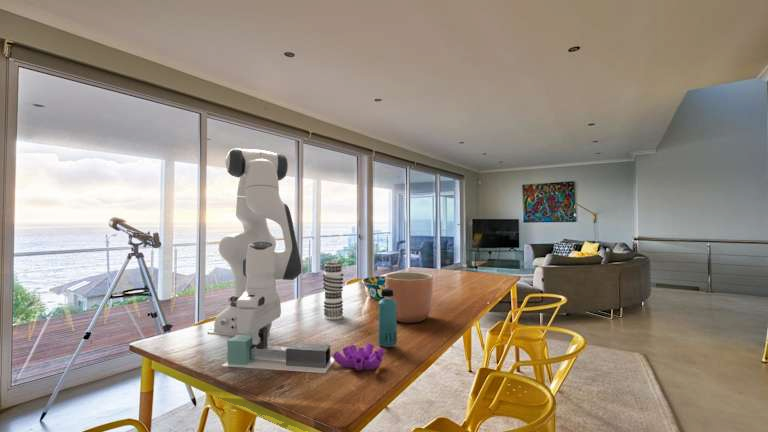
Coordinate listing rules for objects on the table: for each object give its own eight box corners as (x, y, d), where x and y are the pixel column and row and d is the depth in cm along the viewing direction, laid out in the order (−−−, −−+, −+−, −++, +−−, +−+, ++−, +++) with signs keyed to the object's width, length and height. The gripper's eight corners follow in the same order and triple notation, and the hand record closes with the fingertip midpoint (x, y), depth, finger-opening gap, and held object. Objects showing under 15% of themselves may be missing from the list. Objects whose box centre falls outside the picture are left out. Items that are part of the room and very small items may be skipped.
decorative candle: (333, 312, 168) (332, 259, 168) (348, 316, 162) (347, 260, 162) (318, 317, 160) (318, 261, 160) (333, 320, 155) (333, 263, 155)
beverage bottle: (383, 352, 118) (383, 292, 118) (374, 346, 124) (374, 288, 124) (400, 349, 121) (400, 290, 121) (391, 343, 127) (390, 286, 127)
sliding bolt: (240, 357, 110) (240, 328, 110) (245, 354, 113) (245, 325, 113) (302, 361, 106) (302, 331, 106) (306, 357, 109) (306, 328, 109)
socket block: (227, 363, 108) (227, 340, 108) (242, 353, 115) (242, 332, 115) (245, 365, 107) (245, 341, 107) (259, 354, 114) (259, 332, 114)
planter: (440, 317, 160) (440, 274, 160) (419, 329, 142) (419, 281, 142) (400, 310, 171) (400, 270, 171) (376, 321, 153) (375, 277, 153)
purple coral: (349, 371, 112) (362, 341, 116) (384, 386, 102) (397, 353, 106) (326, 357, 105) (341, 327, 110) (361, 372, 95) (376, 338, 100)
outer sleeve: (286, 365, 106) (286, 348, 106) (293, 358, 111) (293, 342, 111) (325, 368, 104) (324, 350, 104) (330, 361, 109) (330, 344, 109)
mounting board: (221, 369, 106) (221, 365, 106) (242, 354, 117) (242, 351, 117) (324, 376, 101) (324, 372, 101) (336, 360, 112) (336, 357, 112)
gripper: (268, 288, 121) (268, 329, 121) (232, 302, 101) (232, 352, 101) (285, 288, 120) (285, 330, 120) (253, 303, 100) (253, 353, 100)
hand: (261, 340), depth 110 cm, fingers open, 4 cm apart
